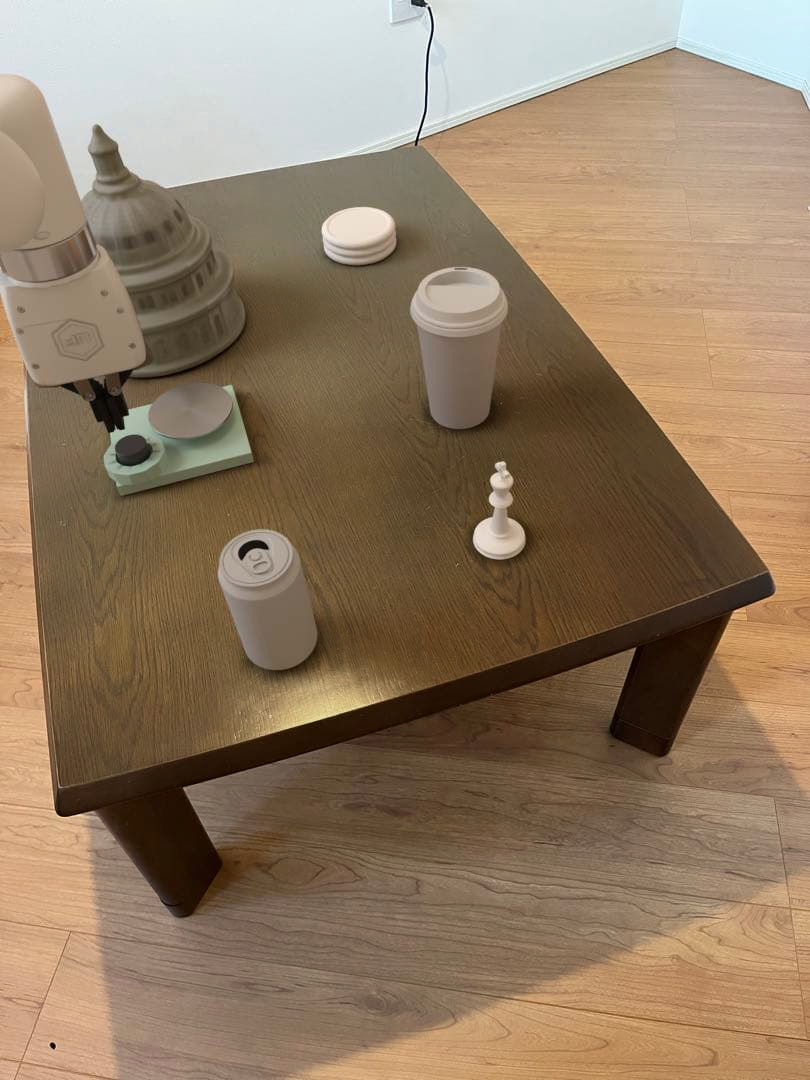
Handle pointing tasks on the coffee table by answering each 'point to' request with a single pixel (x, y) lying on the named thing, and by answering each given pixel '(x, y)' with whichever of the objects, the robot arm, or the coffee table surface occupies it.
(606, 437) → the coffee table surface
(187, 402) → the plate
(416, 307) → the coffee cup
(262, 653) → the beverage can
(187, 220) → the dome
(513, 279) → the coffee table surface
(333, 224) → the coaster
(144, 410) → the scale
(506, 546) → the chess piece
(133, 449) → the button
